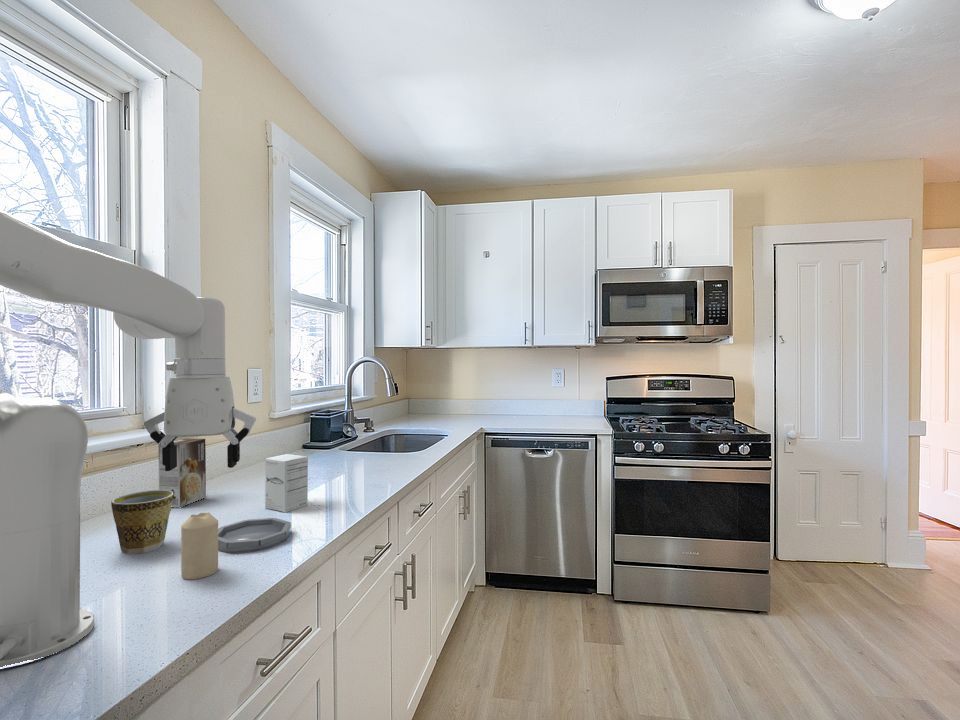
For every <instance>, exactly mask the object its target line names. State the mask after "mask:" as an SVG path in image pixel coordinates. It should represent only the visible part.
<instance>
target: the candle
mask: <svg viewBox="0 0 960 720" xmlns="http://www.w3.org/2000/svg"><path fill="white" fill-rule="evenodd" d="M180 528H181V529H180V530H181V532H180V536H181V537H180V540H181V541H180V543H181V545H180V546H181V547H180V551H181V552H180V560H181V561H180V565H181V566H180V568H181V569H180V571H181V573H180V574H181V578H182V579H185V580H199V579H203V578H207V577H210V576H212V575H213V574H215V573H216V572H217V571H218V570H219V550H218V529H219V520H218V519H217V518H216V517H215V516H213V515H212V514H211V513H210V512H200V513H198V514H191V515H190V516H189V517H188V518H187V519H186V520H185V521H184V522H183V523H182V524H181V527H180Z"/></svg>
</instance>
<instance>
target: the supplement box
mask: <svg viewBox="0 0 960 720" xmlns="http://www.w3.org/2000/svg"><path fill="white" fill-rule="evenodd" d="M308 461H309V456H305V455H297V454H291V453H285V454H281V455H276V456H275V455H274V456H271V457H266V458H265V479H264V480H265V487H264V488H265V490H264V491H265V495H264V497H265V498H264V501H265V502H264V504H265V508H264V509H268V510H269V509H270V510H272V511H273V510H274V511H279V512H283V513H289V512H292V511H294V510H298V509H300V507H301V508H303V507H306V506H308V500H309V499H308V497H309V495H308V494H309V493H308V491H309V490H308V487H309V483H308V479H309V478H308V477H309V473H308V471H309V462H308Z"/></svg>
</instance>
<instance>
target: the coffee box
mask: <svg viewBox="0 0 960 720" xmlns="http://www.w3.org/2000/svg"><path fill="white" fill-rule="evenodd" d="M157 445H158V490H167V491H171V492H173V501H172V507H182V506H184V507H186V506H185V505H187V504H189V505H191V504H190V503H192V504H194V503H196V502H195V501H197V502H198V500H199V501H202V500H203V498H204V499H206V498H207V484H206V483H207V475H206V474H207V473H206V471H207V470H206V469H207V466H206V463H207V462H206V461H207V460H206V458H207V457H206V455H207V453H206V438H181V439H176V440H175V441H174V445H176V446H177V467H176V468H174V469H172V470H170V471H165V465H163V464H162V448H161V447H160V446H159V444H158V443H157ZM205 497H206V498H205ZM201 499H202V500H201ZM193 502H194V503H193ZM187 506H188V505H187ZM182 508H183V507H182Z"/></svg>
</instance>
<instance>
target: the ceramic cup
mask: <svg viewBox="0 0 960 720" xmlns="http://www.w3.org/2000/svg"><path fill="white" fill-rule="evenodd" d="M172 501H173V492H171V491H167V490H159V489H156V490H154V489H151V490H142V491H137V492H135V491H134V492H131V493H126V494H123V495H119V496H118V497H114V498H113V499H111V502H110V504H111V512H112V515H113V520H114V523H115V526H116V529H115V530H116V534H117V536H118V537H117V538H118V543H119V546H120V550H121V552H123V553H125V554H127V555H134V554H144V553H148V552H149V553H150V552H152V551H154V550H159V548H160V547H161V546H163V544H164V543H165V539H166V535H167V528H168V524H169V519H170V514H171V509H172V508H171V506H172Z"/></svg>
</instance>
